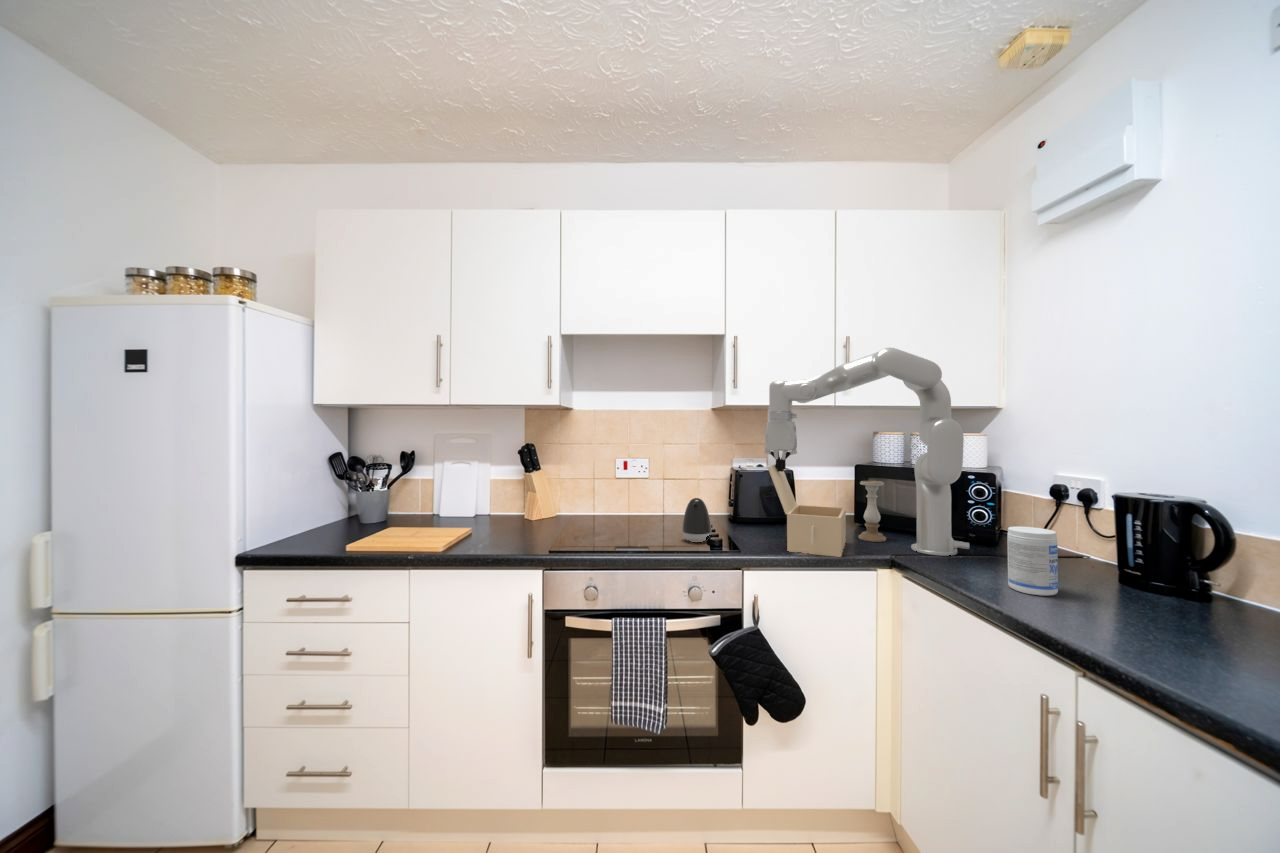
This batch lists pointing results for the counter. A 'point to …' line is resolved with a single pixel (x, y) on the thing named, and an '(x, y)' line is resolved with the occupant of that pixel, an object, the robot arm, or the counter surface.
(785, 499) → the lid flap
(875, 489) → the candle holder
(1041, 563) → the supplement tub
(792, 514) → the carton
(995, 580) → the counter surface
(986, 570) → the counter surface
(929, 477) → the robot arm
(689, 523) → the dark grey domed cylinder
